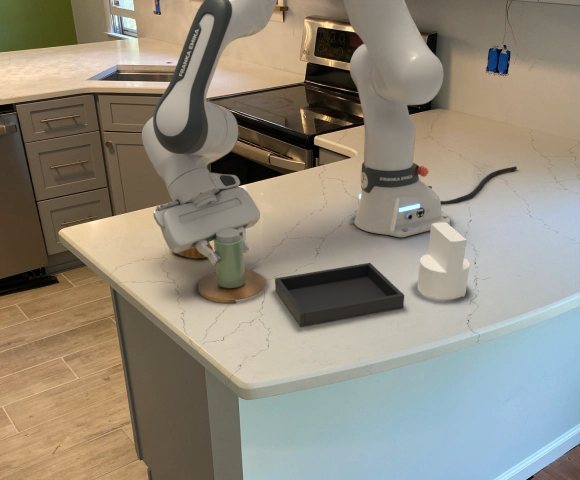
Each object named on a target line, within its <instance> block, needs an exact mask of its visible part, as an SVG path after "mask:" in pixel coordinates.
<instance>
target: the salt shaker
mask: <svg viewBox="0 0 580 480" xmlns="http://www.w3.org/2000/svg"><path fill="white" fill-rule="evenodd" d="M213 248H214V250H213V251H214V252H216V251H218V253H219V255H220V256H221V261H220V262H219V263H216V264H215V269H216V270H215V272H216V273H217V283H218V285H219V286H221V287H224V288H236V287H239V286H241V285H243V284H244V283H245V270H246V269H245V255H244V254H245V253H244V252H243V238H242V236H241V235H240V232H239V230H237V229H233V228H227V229H224V230H221V231H218V232H216V237H215V238H214V240H213Z"/></svg>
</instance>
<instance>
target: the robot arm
mask: <svg viewBox="0 0 580 480" xmlns="http://www.w3.org/2000/svg"><path fill="white" fill-rule="evenodd" d="M342 1H343V4H344V8H345V11H346V13H347V17H348V20H349V23H350V26H351V28H352V30H353V32H354V33H355V34H356V35H357V36H358V37H359V38H360V40H361V41H362V42H363V43H362V44H361V45H359V46H358V47H357V48H356V49H355V51H354V52H353V54H352V56H351V58H350V62H349V73H350V77H351V79H352V81H353V82H354V85H355V87H356V89H357V94H358V97H359V101H360V107H361V113H362V118H363V127H364V148H363V162H362V163H361V170H360V171H361V172H360V188H361V192H360V194H358V199H359V203H358V209H357V212H356V215H355V217H354V222H353V223H354V224H355V226H356V227H357V228H358V229H361V230H362V231H365V232H368V233H372V234H377V235H378V234H380V235H386V236H392V237H395V238H406V237H409V236H413V235H417V234H422V233H426V232H430V231H431V224H433V223H441V222H446V223H448V224H449V225H450V226H451V218H450V217H449V215H448V214H447V213H446V212H445V211H443V210H442V205H450V204H456V203H459V202H462V201H466V200H468V199H470V198H472V197H473V196H475V195H476V194H477V192H479V191H480V190H481V189H482V188H483V186H484V184H485V183H486V182H487V181H488V180H490V179H491V178H492V177H494V176H496V175H499V174H503V173H506V172H511V171H512V172H513V171H516V170H518V167H517V166H516V165H515V166H511V167H506V168H502V169H498V170H494V171H493V172H491V173H489V174H488V175H486V176H485V177H483V179H482V180H481V181H480V182H479V184H478V185H477V186H476V187H475V188H474V189H473V190H472V191H471V192H469V193H468V194H465V195H462V196H460V197H456V198H453V199H450V200H449V199H448V200H441V198H440V196H439V195H438V193H437V192H436V191H434V190H433V186H431V185H427V184H426V183H425V182H424V181H423V180H421V179H420V177H423V178H425V177H427V176H428V174H429V168H427V167H425V166H424V165H419V164H418V163H415V162H414V158H415V148H416V146H415V145H416V137H417V136H416V134H417V132H416V126H415V124H414V121H413V120H412V118H411V115H410V113H409V108H408V106H418V105H419V106H420V105H425V104H427V103H429V102H430V101H432V100H433V99H434V98H435V97H436V96H437V95H438V94H439V92H440V90H441V88H442V86H443V81H444V74H445V73H444V66H443V63H442V62H441V60H440V59H439V57H438V56H436V54H435V53H434V52H432V50H431V49H430V48H429V46H428V45H427V43H426V42H425V39H424V38H423V36H422V34H421V33H420V31H419V28H418V26H417V25H416V23H415V21H414V19H413V17H412V15H411V13H410V11H409V8H408V5H407V3H406V1H405V0H342ZM277 2H278V0H203V1H202V2H201V4H200V6H199V7H198V10H197V12H196V14H195V16H194V18H193V20H192V23H191V25H190V27H189V31H188V33H187V36H186V37H185V41H184V44H183V47H182V49H181V52H180V55H179V58H178V61H177V63H176V66H175V69H174V71H173V74H172V76H171V80H170V81H169V83H168V85H167V87H166V89H165V90H164V92H163V94H162V95H161V97H160V98H159V99H158V101H157V103H156V105H155V107H154V110H153V116H152V117H150V118H149V119H148V120H147V121H146V123H145V124H144V126H143V128H142V130H141V141H142V145H143V148H144V151H145V152H146V155H147V157H148V159H149V161H150V163H151V165H152V167H153V168H154V170H155V172H156V174H157V175H158V176H159V177H160V178H161V180H163V183H164V184H165V188H166V191H167V194H168V195H169V197H170V198H171V200H172V201H169V202H167V203H164V204H162V203H161V204H158V205H156V208H155V209H154V210H153V214H152V215H153V218H154V220H155V222H156V224H157V226H159V228H160V231H161V233H162V236H163V238H164V241H165V243H166V245H167V247H168V250H170V251H171V252H173V253H175V254H178V253H179V252H182V251H185V250H188V249H190V248H193V247H196V249H197V250H198V252H200V253H201V254H203V255H204V256H206V257H205V258H207V259H208V261H209V262H210V265H213V266H214V265H216V263H219V262H220V261H221V256H220V255H219V253H218V251H216V252H215V250H211V249H210V248H208V247H207V245H208V243H207V242H209V243H210V242H214V238H215V237H216V232H218V231H221V230H224V229H227V228H233V229H237V230H239V232H240V235H241V236H242V238H243V252H244V254H245V253H247V252H248V251H249V250H250V246H249V244H248V243H247V229H250V228H253V227H254V226H255V225H256V224H257V223H258V222H259V221H260V219H261V211H260V209H259V207H258V206H257V204H256V203H255V201H254V199H253V198H252V197H251V195H250V194H249V192H248V191H247V190H246V189H245V188H243V187H241V186H240V185H241V181H240V179H239V177H238V176H237V175H235V174H225V173H224V174H223V173H217V172H210V169H208V165H209V164H212V163H214V162H216V161H218V160H220V159H221V158H224V157H225V156H227V155H228V154H229V153H231V152H232V151H233V150H234V149H235V147H236V145H237V143H238V140H239V135H240V134H239V133H240V131H239V130H240V129H239V128H240V127H239V123H238V120H237V118H236V116H235V115H234V113H233V112H232V111H231V110H229V108H226V107H224V106H221V105H219V104H217V103H214V102H210V101H208V100H207V96H208V95H207V94H208V92H209V89H210V86H211V83H212V80H213V78H214V75H215V72H216V70H217V67H218V64H219V61H220V59H221V56H222V54H223V52H224V50H225V49H226V48H227V46H229V44H231V43H232V42H233V41H236V40H238V39H240V38H241V39H242V38H247V37H251V36H253V35H256V34H258V33H260V32H261V31H263V30H264V29H265V28H266V27H267V25H268V24H269V23H270V20H271V18H272V16H273V14H274V12H275V9H276V6H277ZM419 176H420V177H419Z"/></svg>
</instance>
